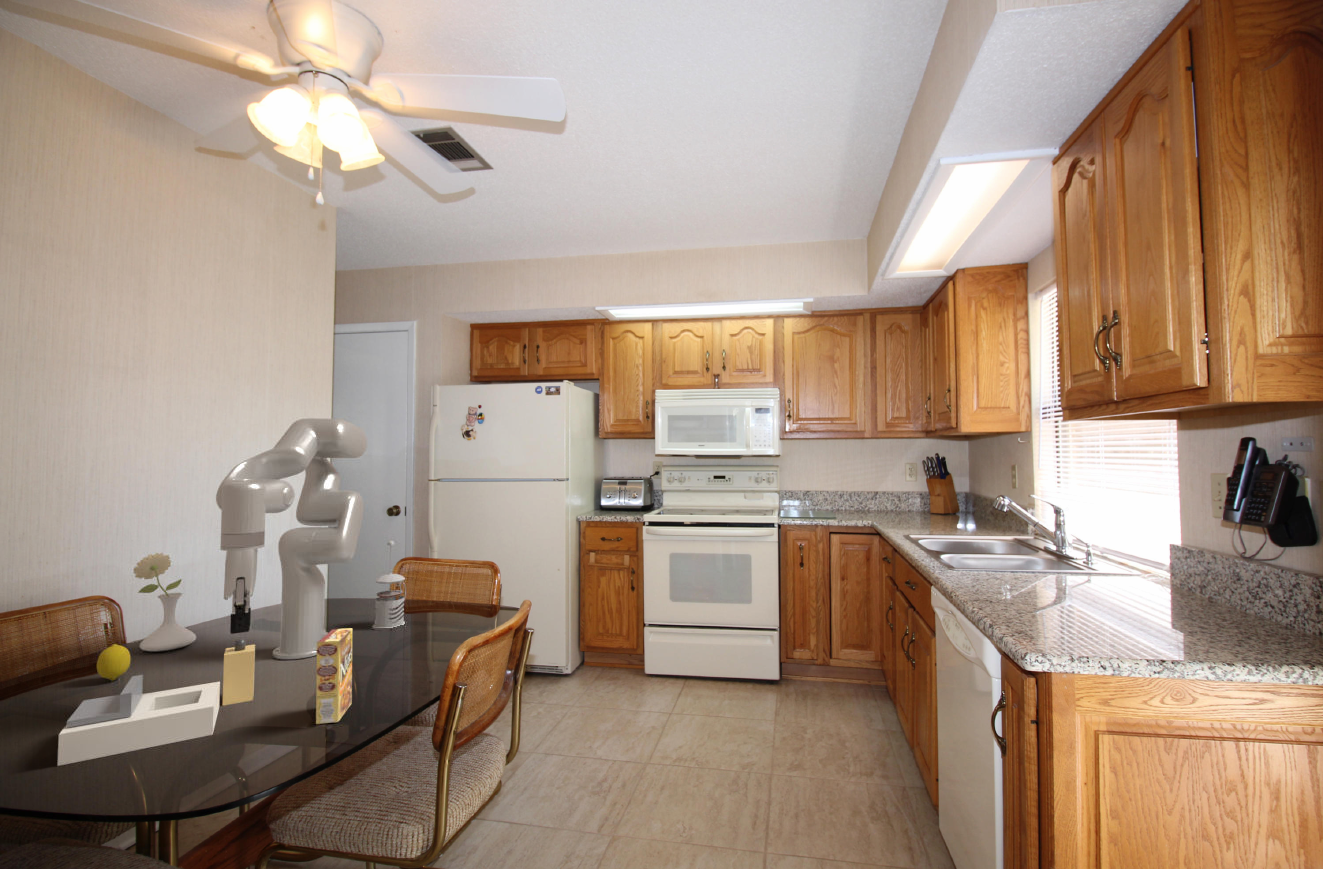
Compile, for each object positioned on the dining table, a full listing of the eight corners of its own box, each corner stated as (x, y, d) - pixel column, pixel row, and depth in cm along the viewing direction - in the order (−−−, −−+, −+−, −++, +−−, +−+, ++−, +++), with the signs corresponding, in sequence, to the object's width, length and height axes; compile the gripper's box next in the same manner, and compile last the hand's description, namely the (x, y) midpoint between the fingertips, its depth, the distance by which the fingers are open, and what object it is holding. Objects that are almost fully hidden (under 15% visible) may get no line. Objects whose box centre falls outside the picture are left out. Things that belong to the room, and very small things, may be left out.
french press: (363, 630, 171) (365, 542, 172) (388, 619, 182) (389, 537, 183) (394, 631, 169) (396, 543, 170) (417, 620, 180) (419, 538, 181)
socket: (219, 706, 118) (220, 681, 118) (212, 734, 106) (213, 706, 106) (81, 732, 107) (82, 704, 107) (57, 765, 95) (58, 734, 96)
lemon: (109, 686, 129) (110, 648, 129) (89, 684, 130) (90, 647, 130) (136, 677, 134) (137, 641, 134) (116, 675, 135) (118, 639, 135)
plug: (253, 692, 126) (255, 634, 126) (252, 700, 121) (254, 641, 122) (224, 697, 123) (226, 638, 123) (222, 705, 119) (224, 645, 119)
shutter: (142, 696, 110) (142, 674, 110) (130, 716, 102) (131, 692, 102) (83, 706, 106) (84, 683, 106) (66, 727, 98) (67, 703, 98)
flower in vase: (193, 638, 162) (195, 546, 163) (199, 648, 154) (202, 551, 155) (129, 649, 153) (132, 552, 154) (131, 660, 145) (135, 557, 146)
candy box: (339, 723, 111) (340, 640, 112) (314, 725, 110) (316, 641, 111) (352, 703, 120) (354, 627, 120) (329, 705, 119) (331, 628, 119)
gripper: (223, 537, 128) (221, 623, 128) (217, 547, 114) (214, 643, 114) (265, 535, 132) (263, 618, 132) (263, 544, 119) (261, 637, 118)
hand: (240, 629), depth 123 cm, fingers open, 3 cm apart
